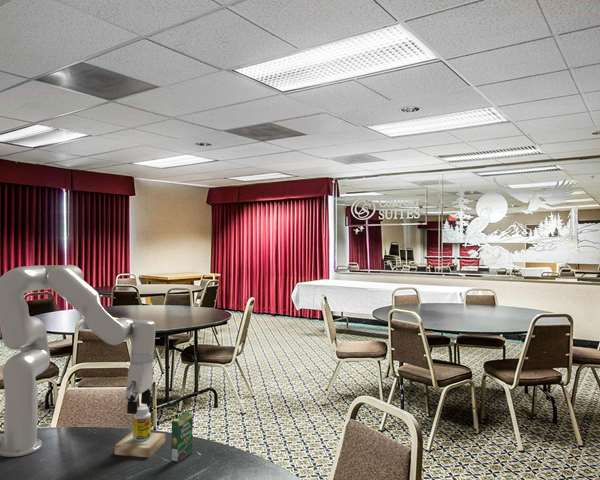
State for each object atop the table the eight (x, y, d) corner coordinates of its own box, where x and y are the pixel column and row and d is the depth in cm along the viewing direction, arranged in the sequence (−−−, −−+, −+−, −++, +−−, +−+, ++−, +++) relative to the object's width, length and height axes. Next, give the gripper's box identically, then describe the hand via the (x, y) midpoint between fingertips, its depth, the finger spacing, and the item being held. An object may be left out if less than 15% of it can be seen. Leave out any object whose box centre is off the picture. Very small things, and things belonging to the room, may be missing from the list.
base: (114, 454, 157) (114, 444, 157) (132, 439, 169) (132, 430, 169) (149, 457, 155) (149, 447, 155) (165, 442, 167) (165, 433, 167)
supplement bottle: (135, 443, 158) (136, 411, 158) (130, 437, 163) (131, 406, 163) (152, 439, 161) (153, 408, 161) (147, 433, 166) (148, 404, 166)
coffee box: (177, 463, 151) (178, 421, 151) (170, 461, 152) (171, 420, 153) (192, 453, 159) (193, 413, 159) (185, 451, 160) (186, 412, 160)
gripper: (143, 350, 171) (140, 399, 171) (118, 362, 154) (115, 416, 154) (163, 352, 170) (160, 401, 170) (140, 364, 153) (137, 418, 153)
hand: (139, 408), depth 162 cm, fingers open, 9 cm apart
